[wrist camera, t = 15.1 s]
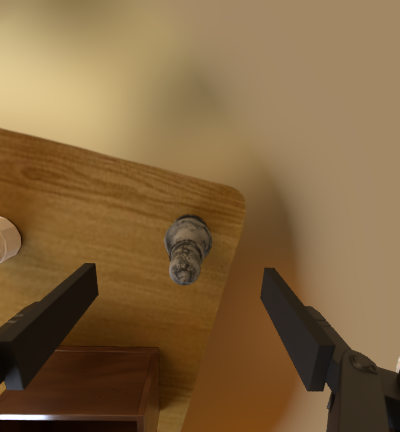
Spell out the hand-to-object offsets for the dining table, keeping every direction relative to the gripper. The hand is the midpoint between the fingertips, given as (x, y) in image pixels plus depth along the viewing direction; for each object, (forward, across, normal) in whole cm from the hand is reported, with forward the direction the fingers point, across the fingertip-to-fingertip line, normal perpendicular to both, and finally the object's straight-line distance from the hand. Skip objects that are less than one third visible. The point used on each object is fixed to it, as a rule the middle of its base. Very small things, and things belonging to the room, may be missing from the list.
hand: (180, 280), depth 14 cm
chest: (+12, -14, -28) cm, 33 cm away
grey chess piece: (+12, 0, 0) cm, 12 cm away
